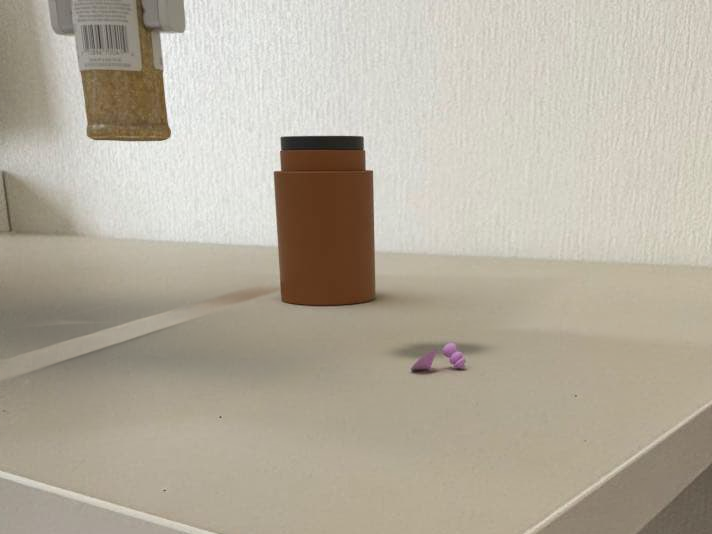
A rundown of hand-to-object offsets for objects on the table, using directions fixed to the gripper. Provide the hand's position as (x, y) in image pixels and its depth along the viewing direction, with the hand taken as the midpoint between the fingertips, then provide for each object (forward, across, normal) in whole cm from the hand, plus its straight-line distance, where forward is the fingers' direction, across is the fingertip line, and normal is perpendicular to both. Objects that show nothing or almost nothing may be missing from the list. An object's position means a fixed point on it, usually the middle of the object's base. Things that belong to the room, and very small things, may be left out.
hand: (118, 34), depth 46 cm
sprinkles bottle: (+5, 0, 0) cm, 5 cm away
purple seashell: (+17, -18, -1) cm, 24 cm away
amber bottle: (+17, -2, -25) cm, 30 cm away
